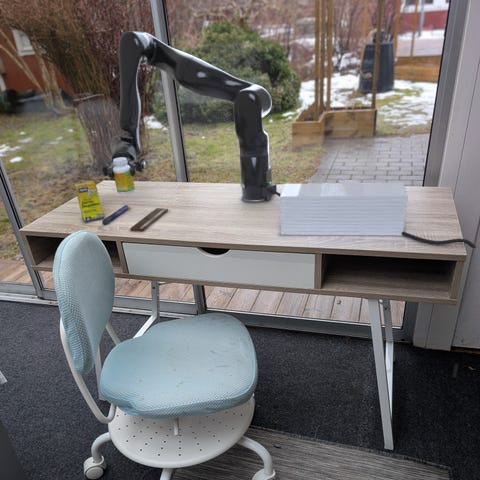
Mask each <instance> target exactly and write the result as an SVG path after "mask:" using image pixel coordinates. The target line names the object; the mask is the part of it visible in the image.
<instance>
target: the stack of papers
mask: <svg viewBox="0 0 480 480" xmlns="http://www.w3.org/2000/svg"><path fill="white" fill-rule="evenodd" d="M280 194H281V195H280V197H279V218H280V220H279V221H280V223H279V224H280V235H281V236H396V237H397V236H403V237H404V235H402V234H401V233H402V232H405V231H404V228H405V221H406V214H407V206H408V198H409V195H408V192H407V188H406V186H405V183H404V182H403V181H401V182H399V181H398V182H394V181H393V182H389V181H388V182H336V183H335V182H333V183H332V182H327V183H326V182H323V183H322V182H318V183H316V182H313V183H283V185H282V189H281V191H280Z"/></svg>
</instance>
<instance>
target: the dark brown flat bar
mask: <svg viewBox="0 0 480 480" xmlns="http://www.w3.org/2000/svg"><path fill="white" fill-rule="evenodd" d="M168 212H169V209H168V208H165V207H164V208H163V207H162V208H160V207H156V208H155V209H154V210H152V211H151V212H150V213H148V214H147V215H146V216H145V217H143V218H142V219H140V220H139V221H137V222H136V223H134V224H133V225H132V226H131V227H130V231H131V232H142V233H143V232H145V230H146V229H148V228H149V227H150V226H151V225H153V224H154V223H156V221H158V220H159V219H160V218H162V217H163V216H164V215H165V214H166V213H168Z"/></svg>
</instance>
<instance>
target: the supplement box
mask: <svg viewBox="0 0 480 480" xmlns="http://www.w3.org/2000/svg"><path fill="white" fill-rule="evenodd" d="M73 186H74V190H75V194H76V197H77V201H78V205H79V210H80V214H81V217H82V219H83V221H84V222H85V223H89V222H94V221H98V220H104V219H105V217H104V214H103V213H104V212H103V209H102V204H101V200H100V196H99V192H98V187H97V184H96V183H95V182H94V180H89V181H83V182H79V183H74V184H73Z"/></svg>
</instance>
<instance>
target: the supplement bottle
mask: <svg viewBox="0 0 480 480" xmlns="http://www.w3.org/2000/svg"><path fill="white" fill-rule="evenodd" d="M113 164H114V165H115V167H114V168H113V174H114V184H115V188H116V192H117V194H119V195H120V194H121V195H126V194H127V195H128V194H131V193H134V192H135V190H136V187H135V181H134V178H133V177H134V176H132V175H131V170H130V169H131V167H130V166H129V165H127V158H125V157H120V158H115V159H113Z"/></svg>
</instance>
